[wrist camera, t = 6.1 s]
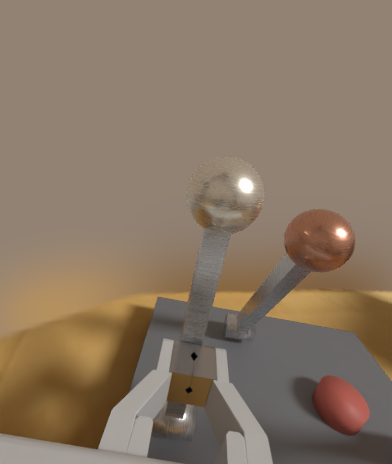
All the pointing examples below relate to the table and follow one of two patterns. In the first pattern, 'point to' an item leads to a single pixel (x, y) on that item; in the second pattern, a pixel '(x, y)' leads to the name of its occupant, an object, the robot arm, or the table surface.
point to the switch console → (286, 390)
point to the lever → (210, 259)
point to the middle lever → (296, 265)
